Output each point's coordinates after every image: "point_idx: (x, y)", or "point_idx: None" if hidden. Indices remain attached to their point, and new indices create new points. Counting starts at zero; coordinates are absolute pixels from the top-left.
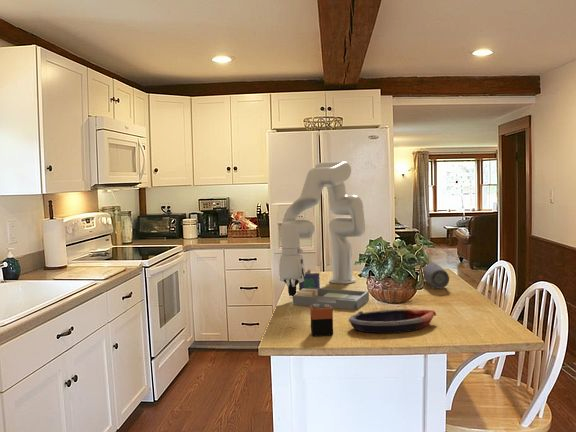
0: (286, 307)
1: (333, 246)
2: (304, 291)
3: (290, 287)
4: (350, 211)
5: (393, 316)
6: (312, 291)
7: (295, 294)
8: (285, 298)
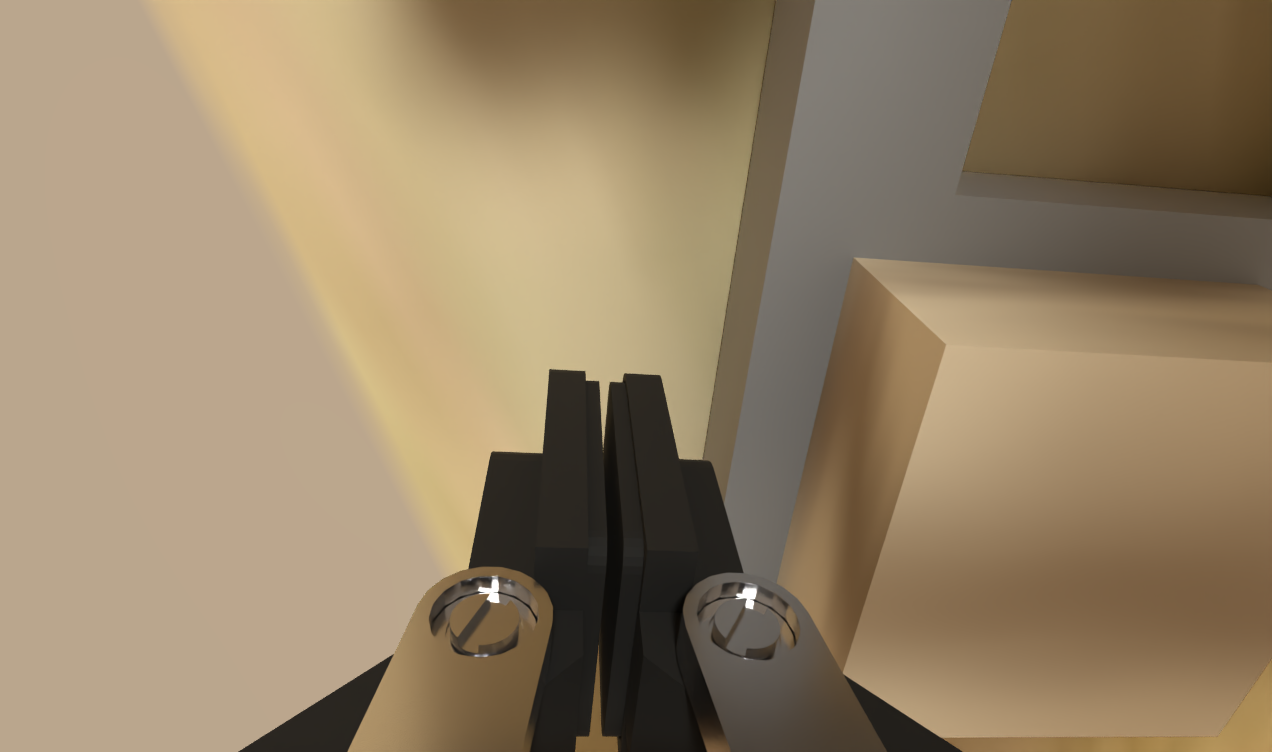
0: None
1: None
2: (1033, 672)
3: (587, 722)
4: None
5: None
6: (1261, 621)
7: (656, 379)
8: (279, 148)
